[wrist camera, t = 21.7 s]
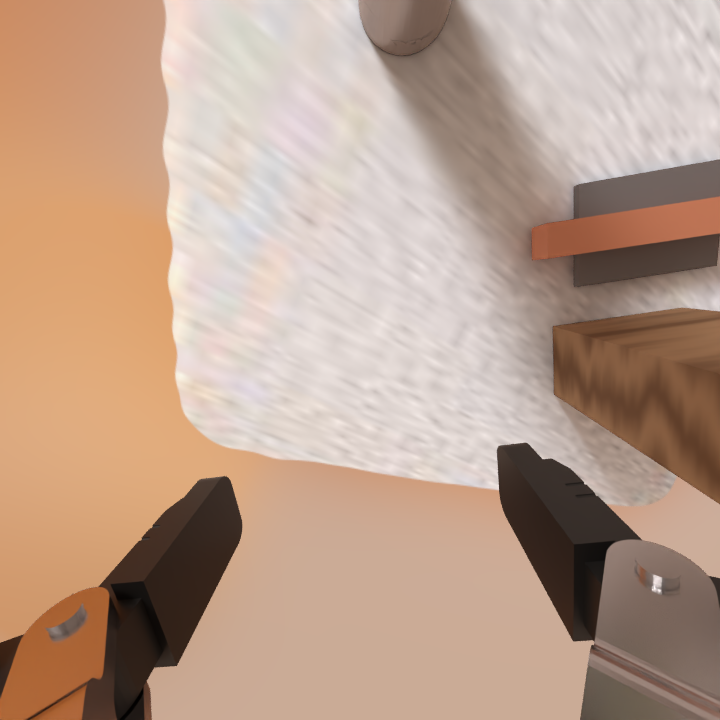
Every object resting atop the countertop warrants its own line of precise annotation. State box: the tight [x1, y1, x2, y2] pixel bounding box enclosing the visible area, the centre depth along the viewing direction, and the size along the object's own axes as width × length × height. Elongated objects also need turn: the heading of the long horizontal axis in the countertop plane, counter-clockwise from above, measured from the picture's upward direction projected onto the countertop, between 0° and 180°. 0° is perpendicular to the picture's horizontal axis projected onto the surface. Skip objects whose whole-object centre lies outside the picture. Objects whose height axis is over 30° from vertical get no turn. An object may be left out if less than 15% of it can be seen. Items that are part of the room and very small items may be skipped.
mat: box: [574, 160, 720, 287], centre depth 37 cm, size 11×15×1 cm
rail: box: [532, 197, 720, 260], centre depth 35 cm, size 4×22×4 cm, turn 98°
